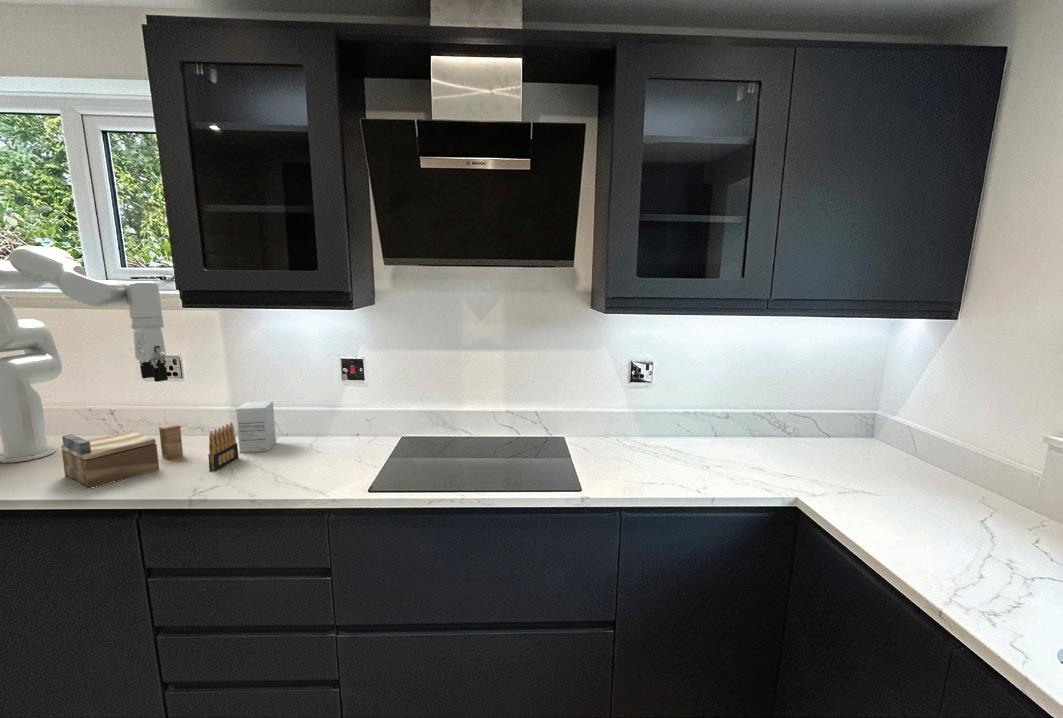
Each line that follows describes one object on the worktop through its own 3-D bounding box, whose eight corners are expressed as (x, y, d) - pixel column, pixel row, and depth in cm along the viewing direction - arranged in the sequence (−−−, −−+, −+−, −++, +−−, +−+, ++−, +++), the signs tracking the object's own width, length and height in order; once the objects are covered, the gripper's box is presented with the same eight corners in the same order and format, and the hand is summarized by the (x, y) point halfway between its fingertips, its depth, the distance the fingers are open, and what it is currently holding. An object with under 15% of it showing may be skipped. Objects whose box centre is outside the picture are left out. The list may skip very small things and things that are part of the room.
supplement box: (247, 444, 162) (244, 401, 160) (276, 442, 164) (273, 400, 162) (238, 453, 153) (235, 408, 151) (269, 451, 156) (266, 407, 153)
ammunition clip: (233, 458, 149) (230, 421, 147) (238, 458, 149) (235, 421, 147) (209, 471, 139) (205, 432, 137) (215, 471, 139) (211, 432, 137)
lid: (61, 449, 132) (59, 435, 131) (131, 434, 146) (130, 421, 145) (84, 460, 125) (82, 444, 124) (155, 443, 138) (154, 429, 138)
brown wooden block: (162, 457, 148) (159, 427, 147) (176, 453, 152) (173, 423, 150) (168, 460, 147) (165, 429, 145) (183, 456, 150) (180, 425, 148)
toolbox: (65, 476, 133) (61, 450, 132) (134, 458, 147) (131, 435, 146) (89, 489, 126) (85, 461, 124) (159, 469, 139) (156, 444, 138)
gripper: (121, 322, 143) (129, 378, 146) (142, 325, 133) (150, 384, 136) (151, 321, 149) (158, 374, 152) (174, 323, 140) (181, 380, 142)
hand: (154, 379), depth 144 cm, fingers open, 9 cm apart
